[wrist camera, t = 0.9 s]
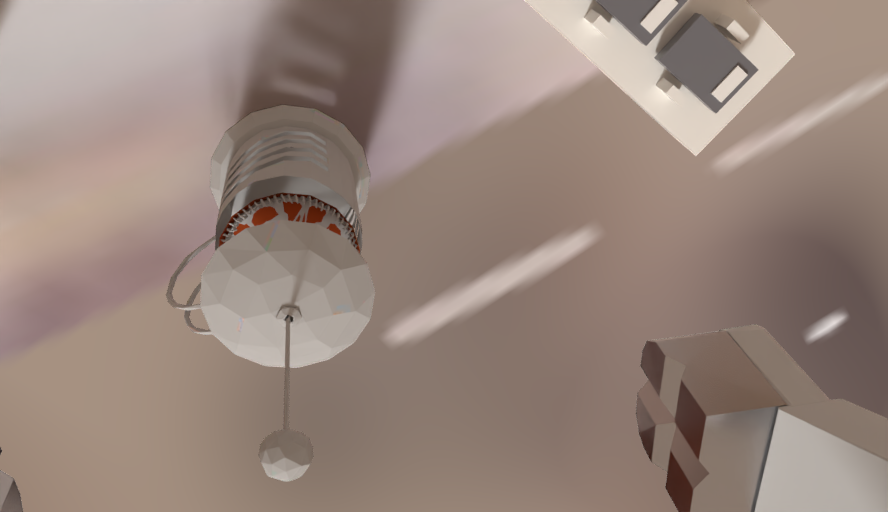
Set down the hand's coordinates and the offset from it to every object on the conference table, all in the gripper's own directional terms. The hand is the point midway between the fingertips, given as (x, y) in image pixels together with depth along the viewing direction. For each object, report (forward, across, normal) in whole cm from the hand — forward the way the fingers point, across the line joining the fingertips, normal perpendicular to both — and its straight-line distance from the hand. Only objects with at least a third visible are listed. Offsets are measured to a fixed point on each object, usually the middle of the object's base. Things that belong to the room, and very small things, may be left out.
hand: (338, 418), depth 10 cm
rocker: (+33, -21, +6) cm, 40 cm away
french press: (+38, +4, +13) cm, 40 cm away
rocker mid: (+33, -17, +2) cm, 37 cm away
